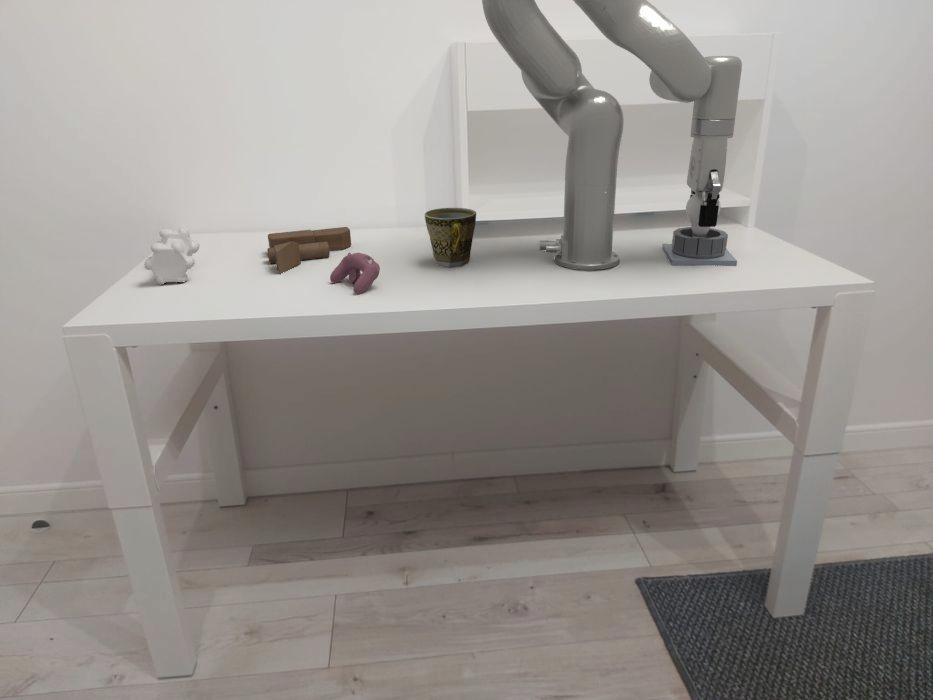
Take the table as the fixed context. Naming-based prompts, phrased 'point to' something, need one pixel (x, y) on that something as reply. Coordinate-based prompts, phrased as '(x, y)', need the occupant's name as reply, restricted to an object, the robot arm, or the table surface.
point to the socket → (699, 248)
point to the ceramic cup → (451, 235)
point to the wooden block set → (305, 246)
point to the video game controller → (357, 271)
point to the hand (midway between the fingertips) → (701, 220)
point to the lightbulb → (697, 215)
